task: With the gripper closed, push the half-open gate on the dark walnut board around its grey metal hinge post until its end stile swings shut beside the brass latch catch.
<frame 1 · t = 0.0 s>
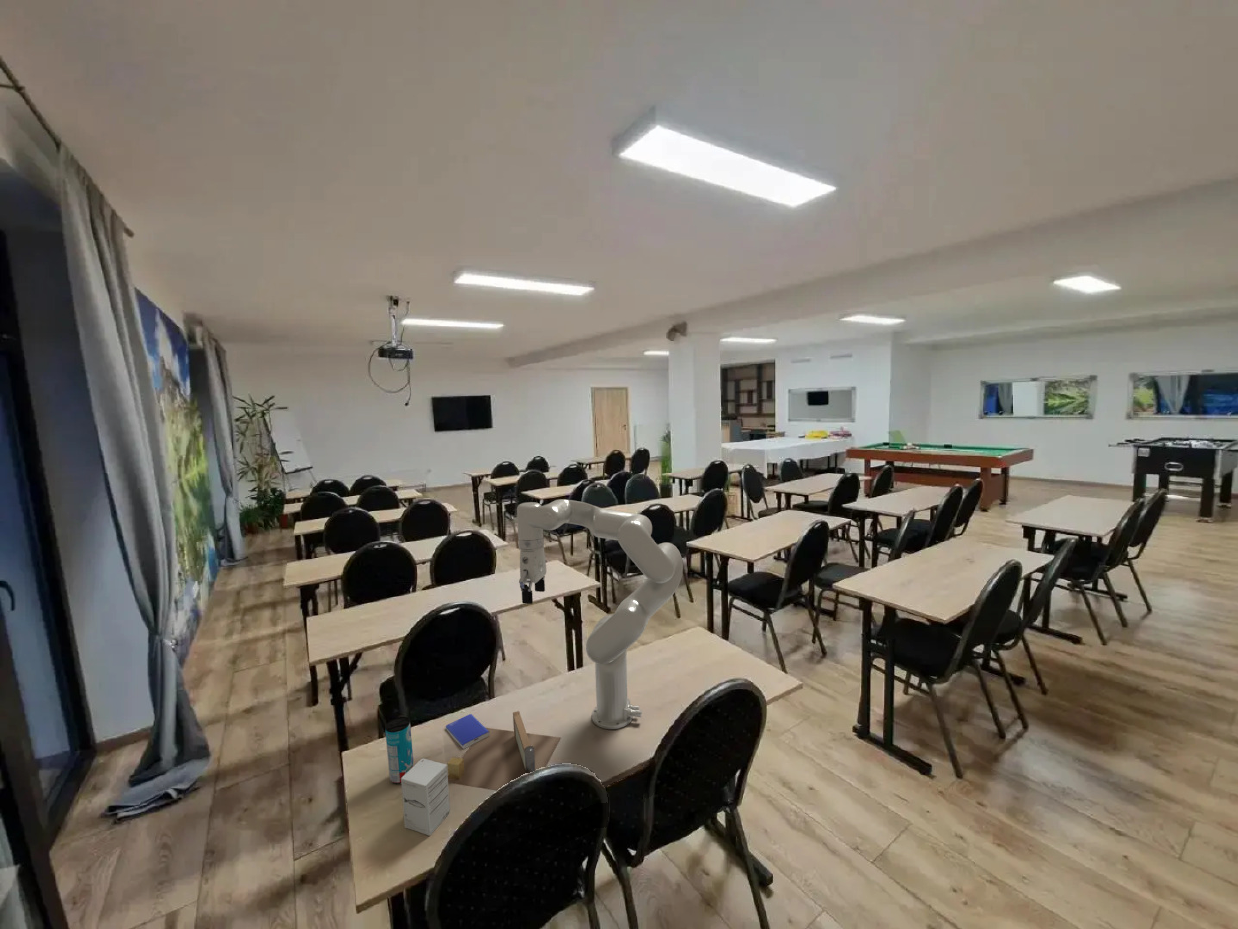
hand: (533, 597, 155), 37 cm above the table, tool pointing down, fingers open, 9 cm apart
supplement box: (428, 821, 117), on the table
beverage can: (402, 777, 131), on the table
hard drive: (467, 733, 148), on the table, touching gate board
gate posts: (531, 782, 128), resting on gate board
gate: (522, 741, 137), point 4 cm above the table, hinge at -55.0°
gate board: (505, 760, 136), on the table
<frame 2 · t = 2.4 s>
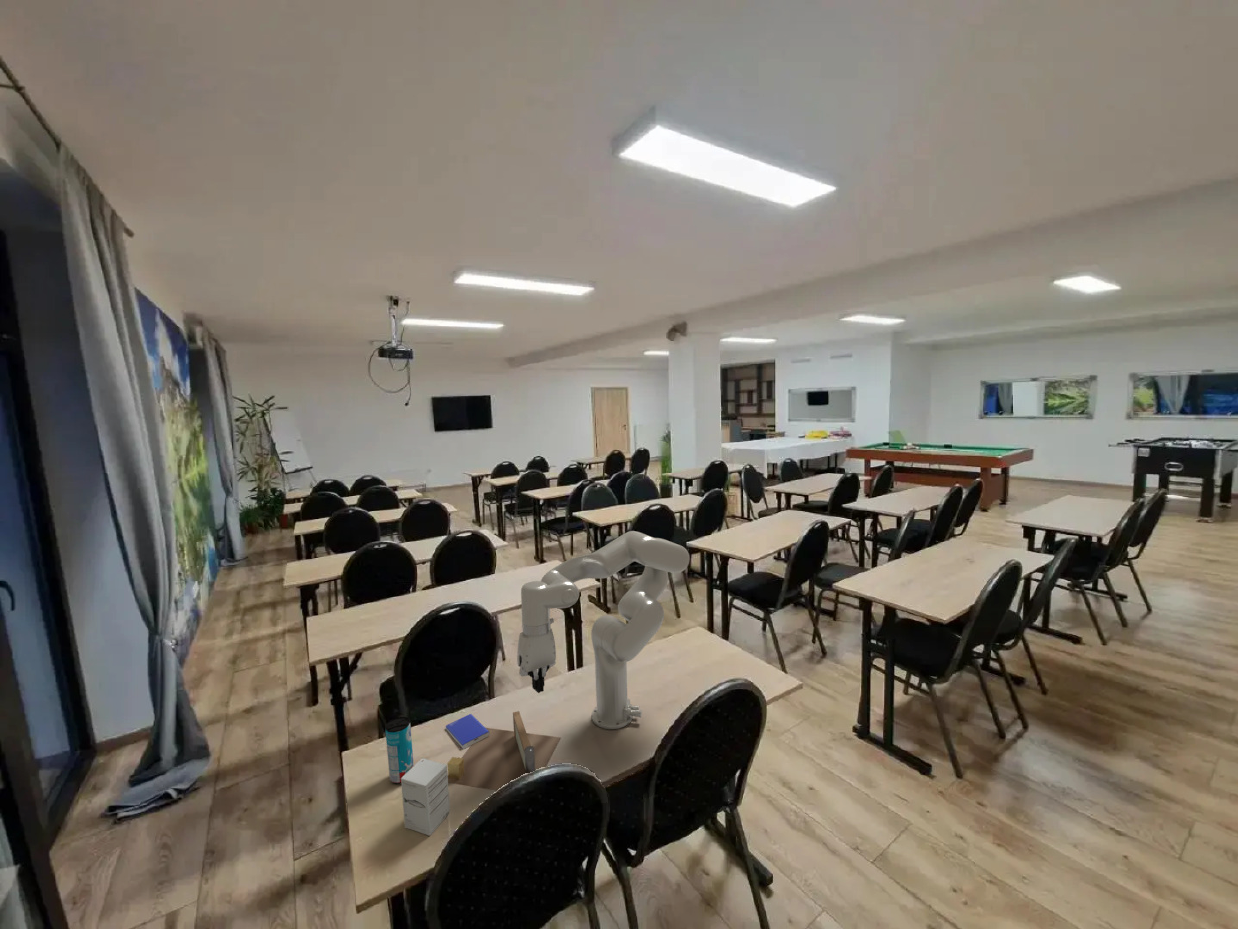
hand: (538, 690, 140), 17 cm above the table, tool pointing down, fingers closed
nothing on the table moved.
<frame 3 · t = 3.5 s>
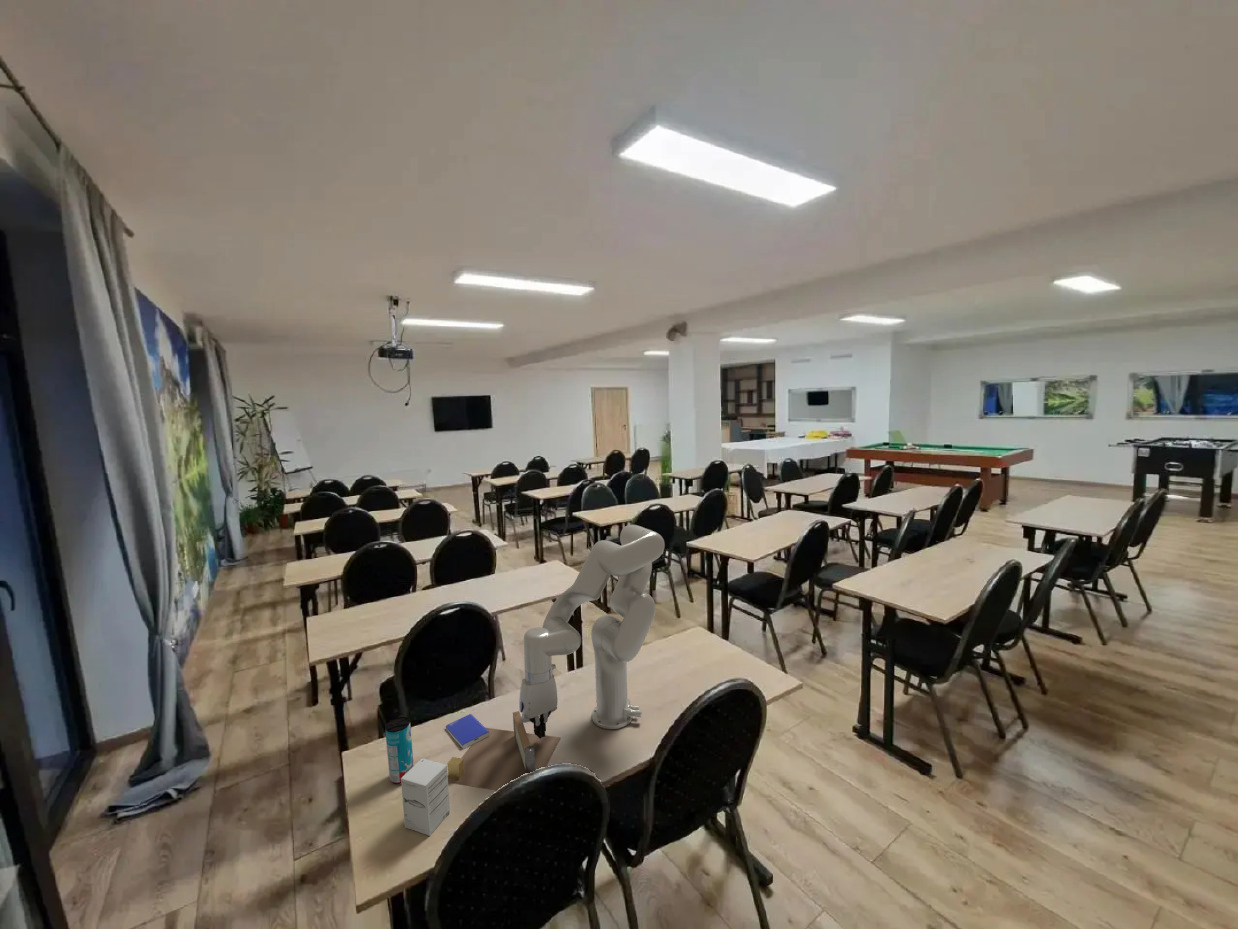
hand: (540, 735, 142), 3 cm above the table, tool pointing down, fingers closed
nothing on the table moved.
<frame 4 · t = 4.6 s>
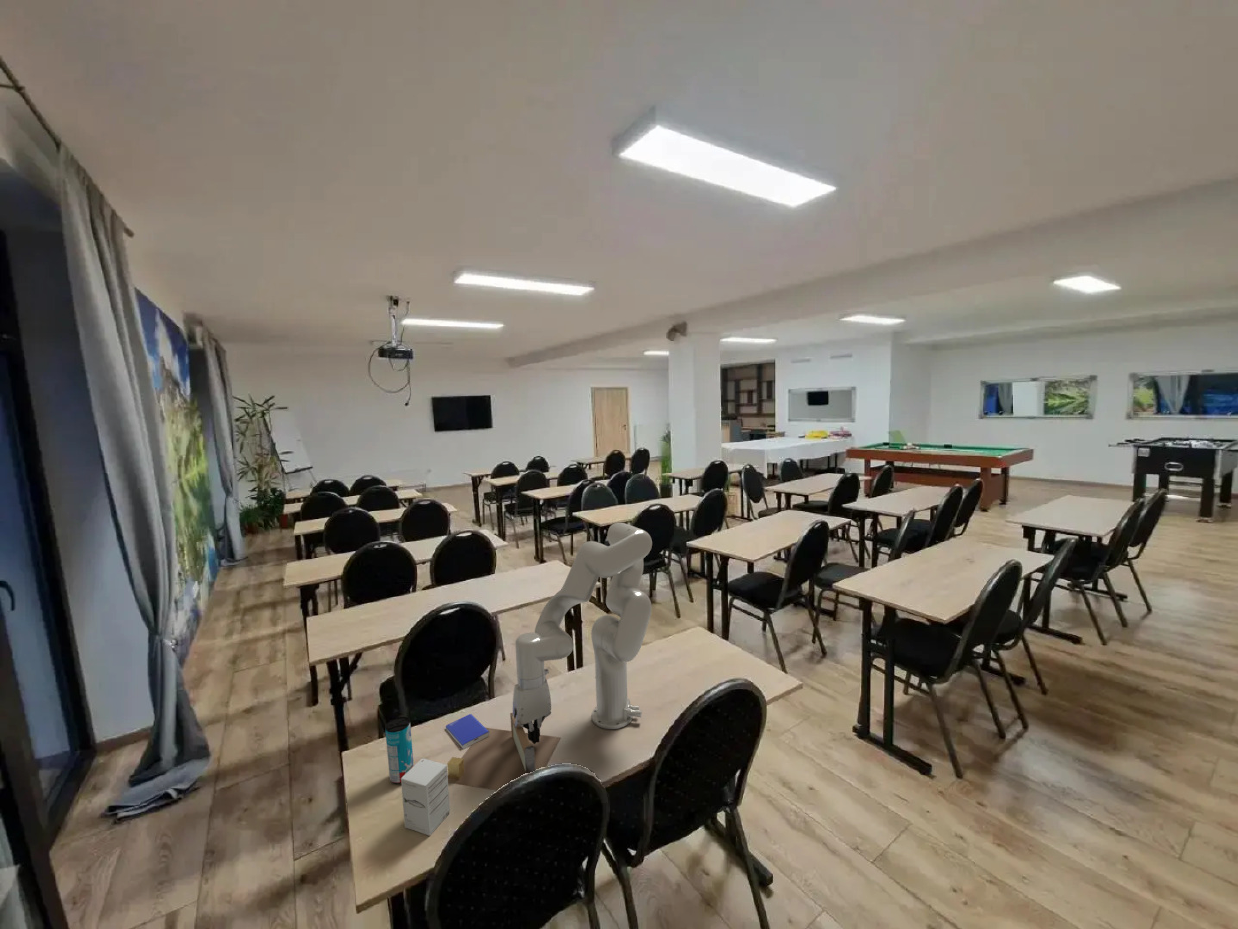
hand: (534, 740, 141), 2 cm above the table, tool pointing down, fingers closed
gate: (521, 741, 137), point 4 cm above the table, hinge at -52.8°, touching gripper
everything else where it was.
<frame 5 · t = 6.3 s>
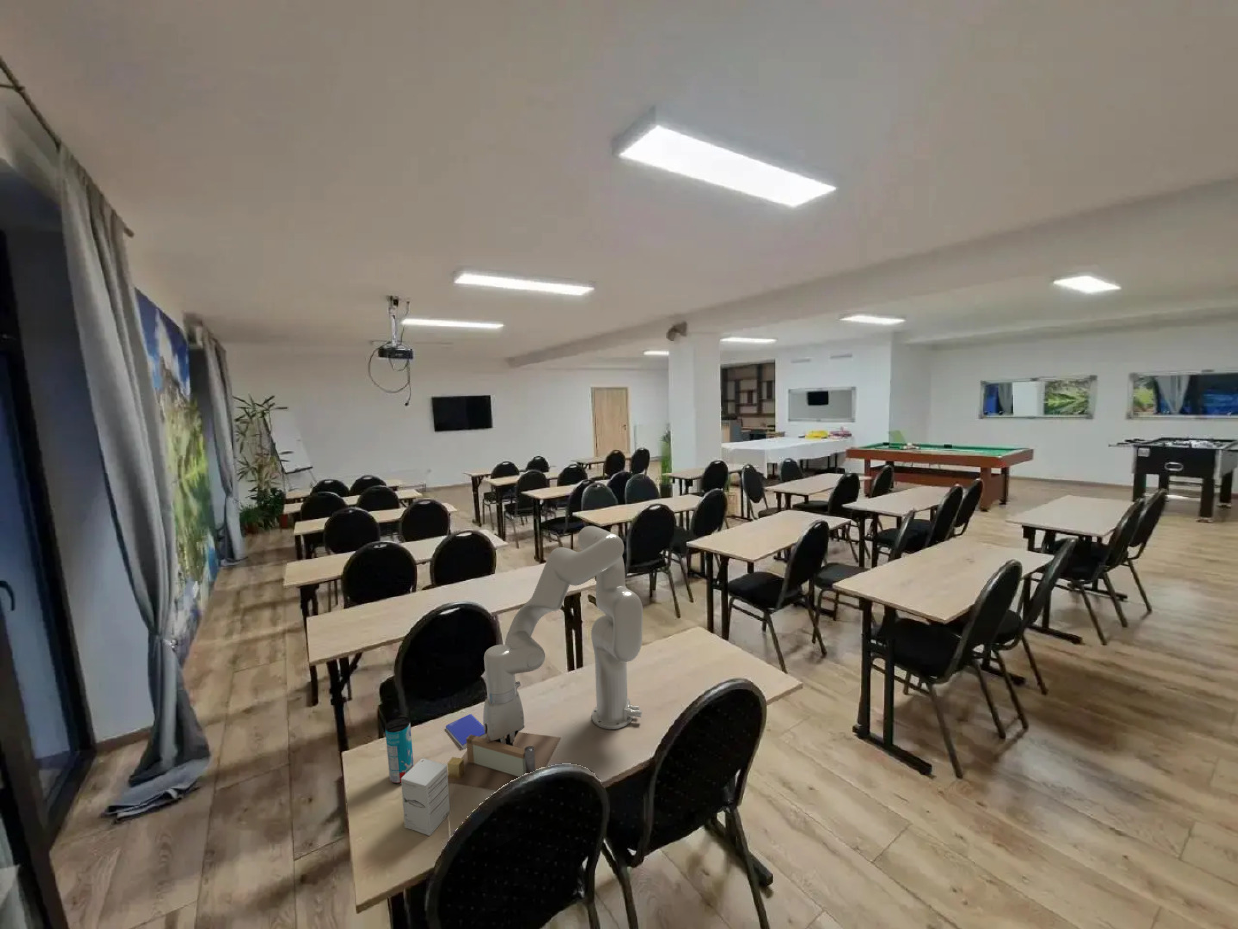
hand: (507, 755, 136), 2 cm above the table, tool pointing down, fingers closed
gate: (496, 756, 132), point 4 cm above the table, hinge at -9.3°, touching gripper
everything else where it was.
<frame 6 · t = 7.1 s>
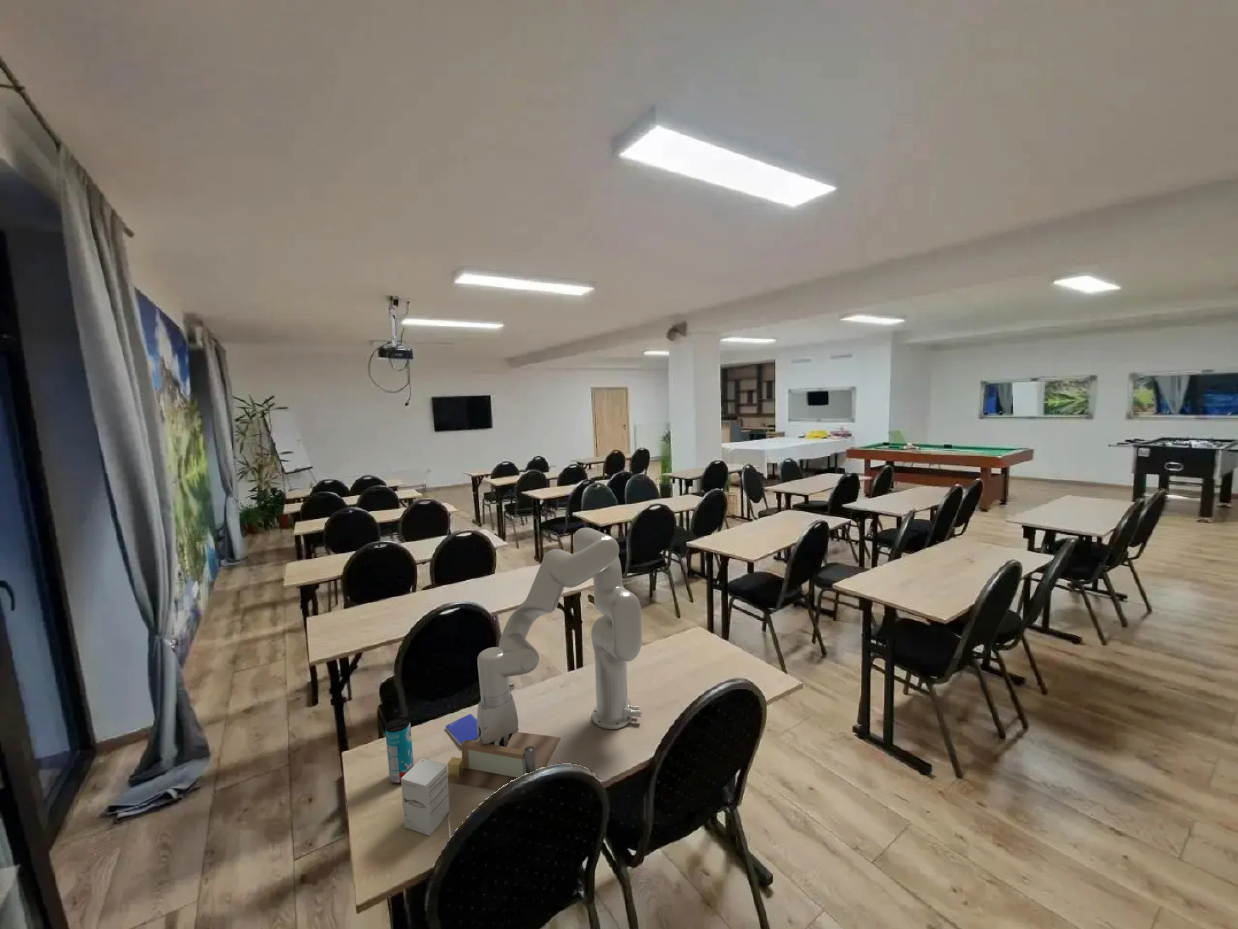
hand: (501, 759, 135), 1 cm above the table, tool pointing down, fingers closed
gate: (494, 759, 131), point 4 cm above the table, hinge at -2.3°, touching gripper
everything else where it was.
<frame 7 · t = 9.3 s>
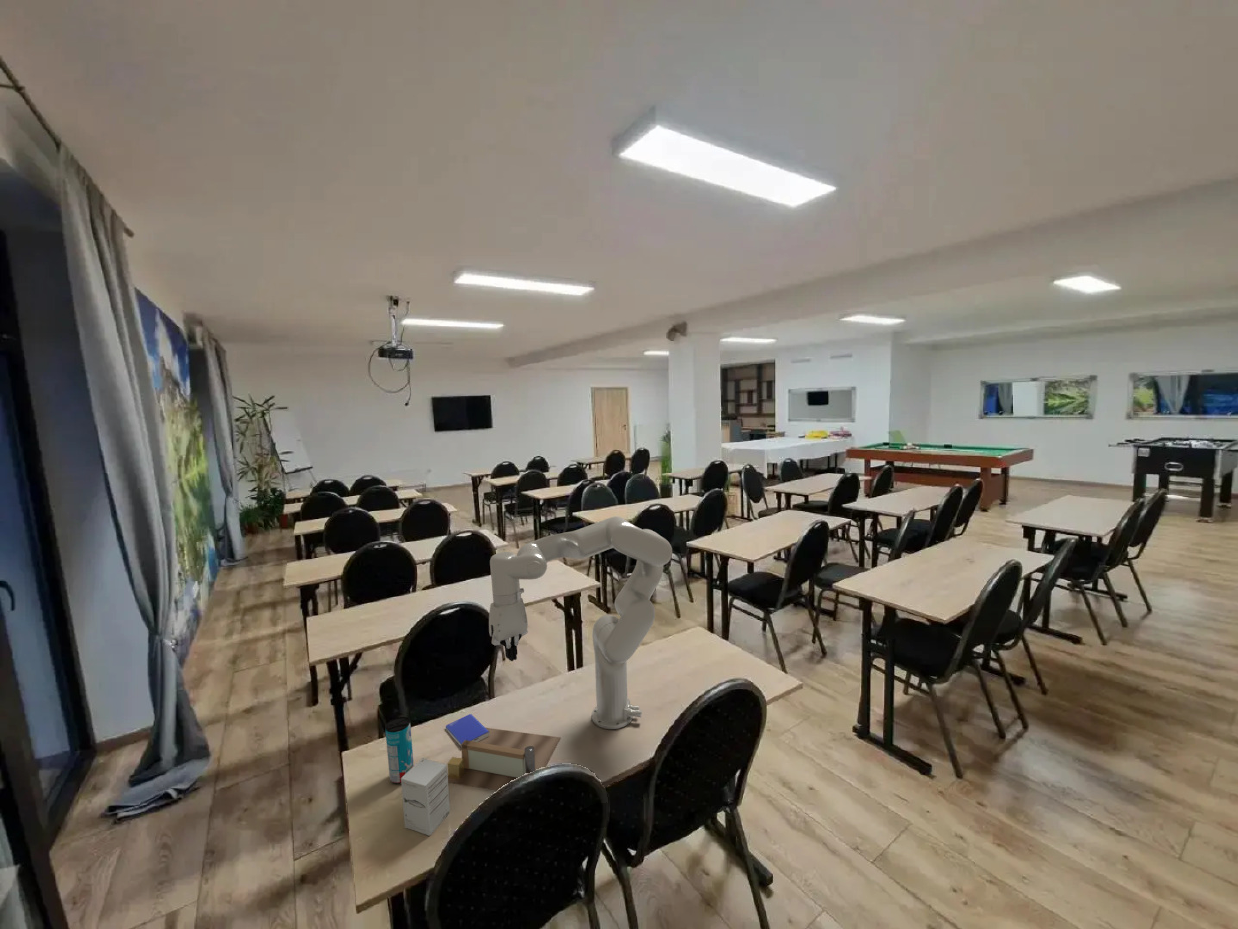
hand: (511, 658, 143), 24 cm above the table, tool pointing down, fingers closed
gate: (493, 759, 131), point 4 cm above the table, hinge at -2.2°
everything else where it was.
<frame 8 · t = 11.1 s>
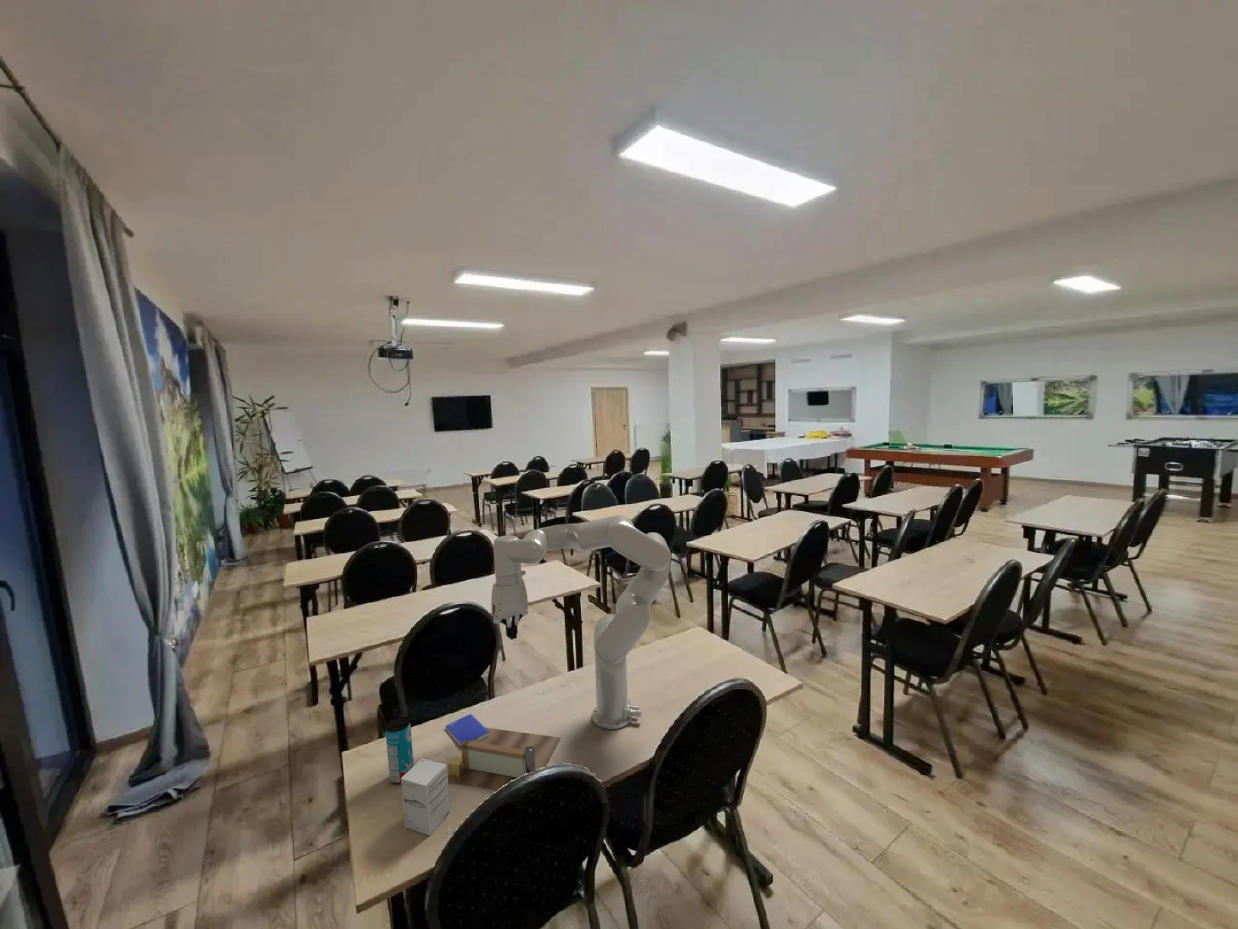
hand: (512, 637, 150), 27 cm above the table, tool pointing down, fingers closed
nothing on the table moved.
at the end: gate at -2° (first picture: -55°) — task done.
